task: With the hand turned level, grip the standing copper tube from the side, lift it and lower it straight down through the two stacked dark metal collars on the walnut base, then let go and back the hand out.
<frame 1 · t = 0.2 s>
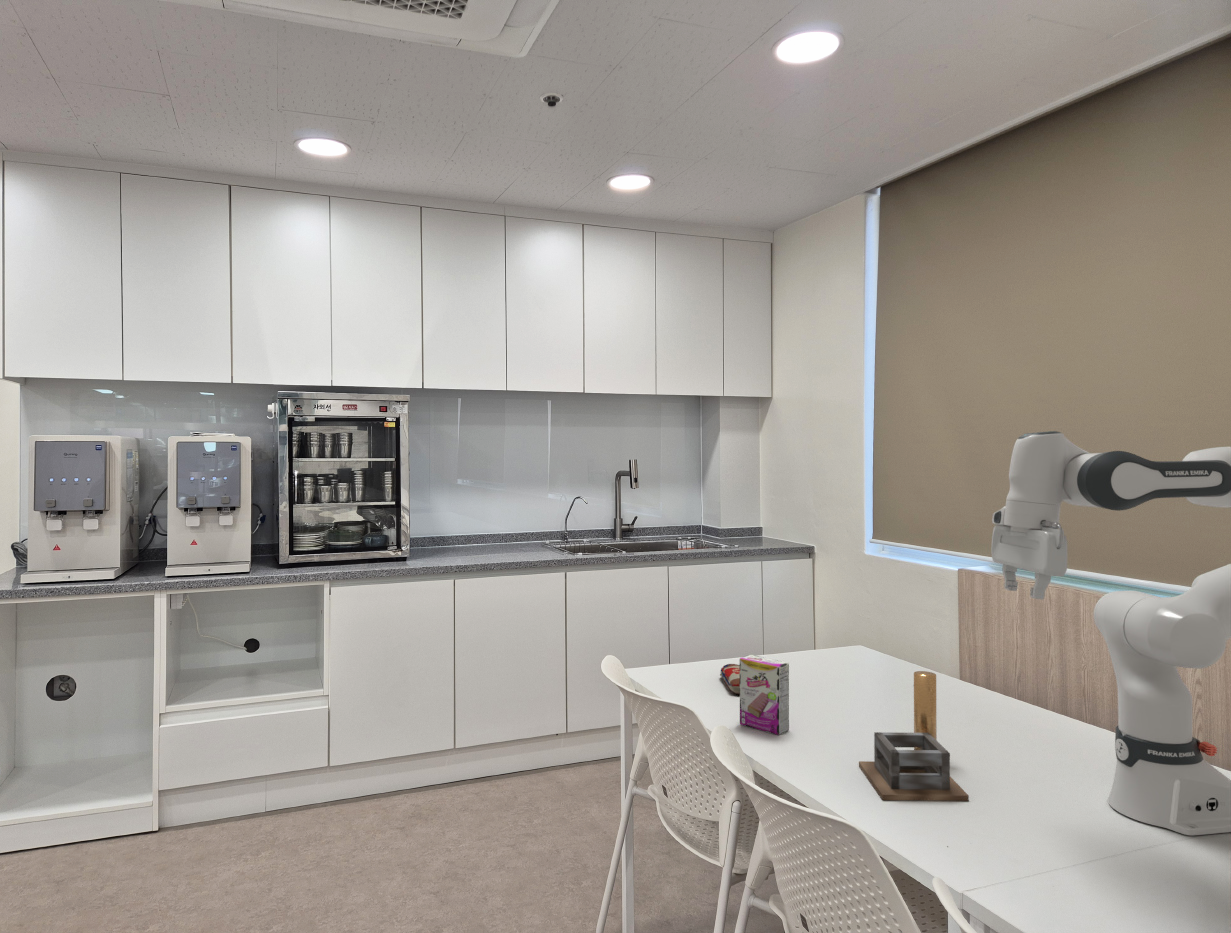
hand: (1023, 594, 140), 39 cm above the table, tool pointing down, fingers open, 8 cm apart
candy bar box: (764, 729, 184), on the table
collar stand: (910, 782, 153), on the table
copper tube: (925, 757, 165), on the table
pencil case: (738, 687, 218), on the table
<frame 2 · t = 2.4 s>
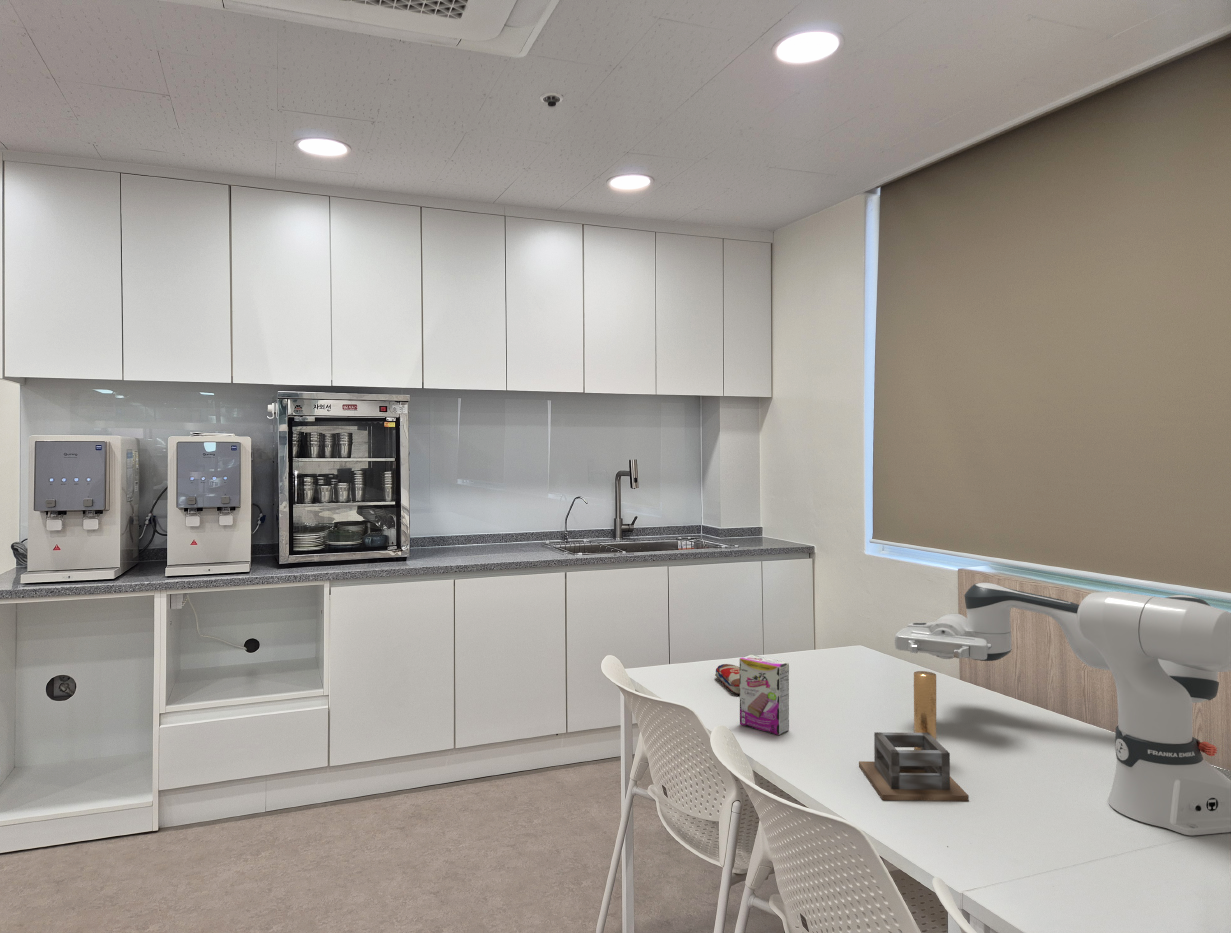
hand: (935, 652, 176), 20 cm above the table, tool horizontal, fingers open, 8 cm apart
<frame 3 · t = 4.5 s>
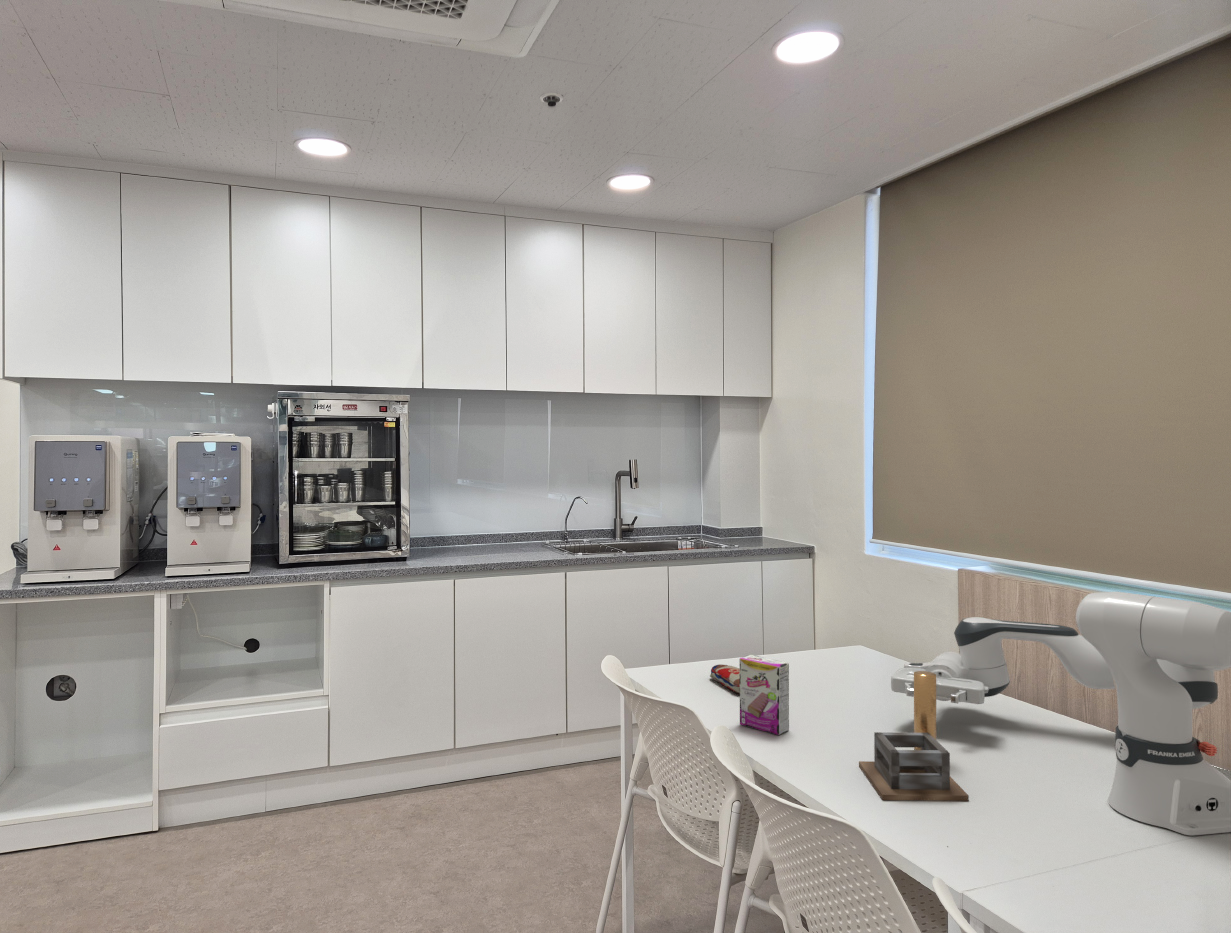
hand: (931, 696, 174), 11 cm above the table, tool horizontal, fingers open, 8 cm apart
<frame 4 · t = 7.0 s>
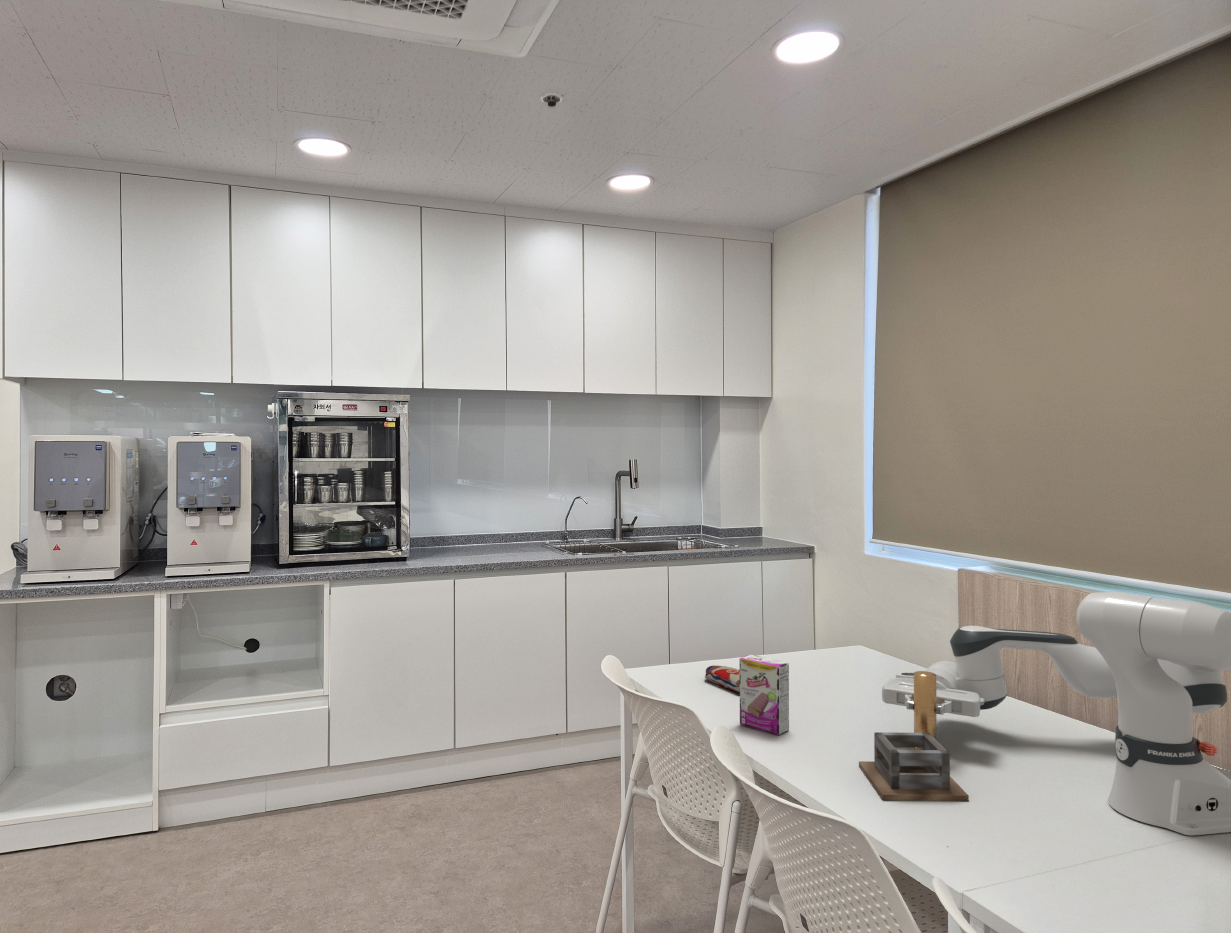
hand: (924, 708, 165), 11 cm above the table, tool horizontal, fingers closed on copper tube, 4 cm apart
copper tube: (925, 757, 165), on the table, touching gripper
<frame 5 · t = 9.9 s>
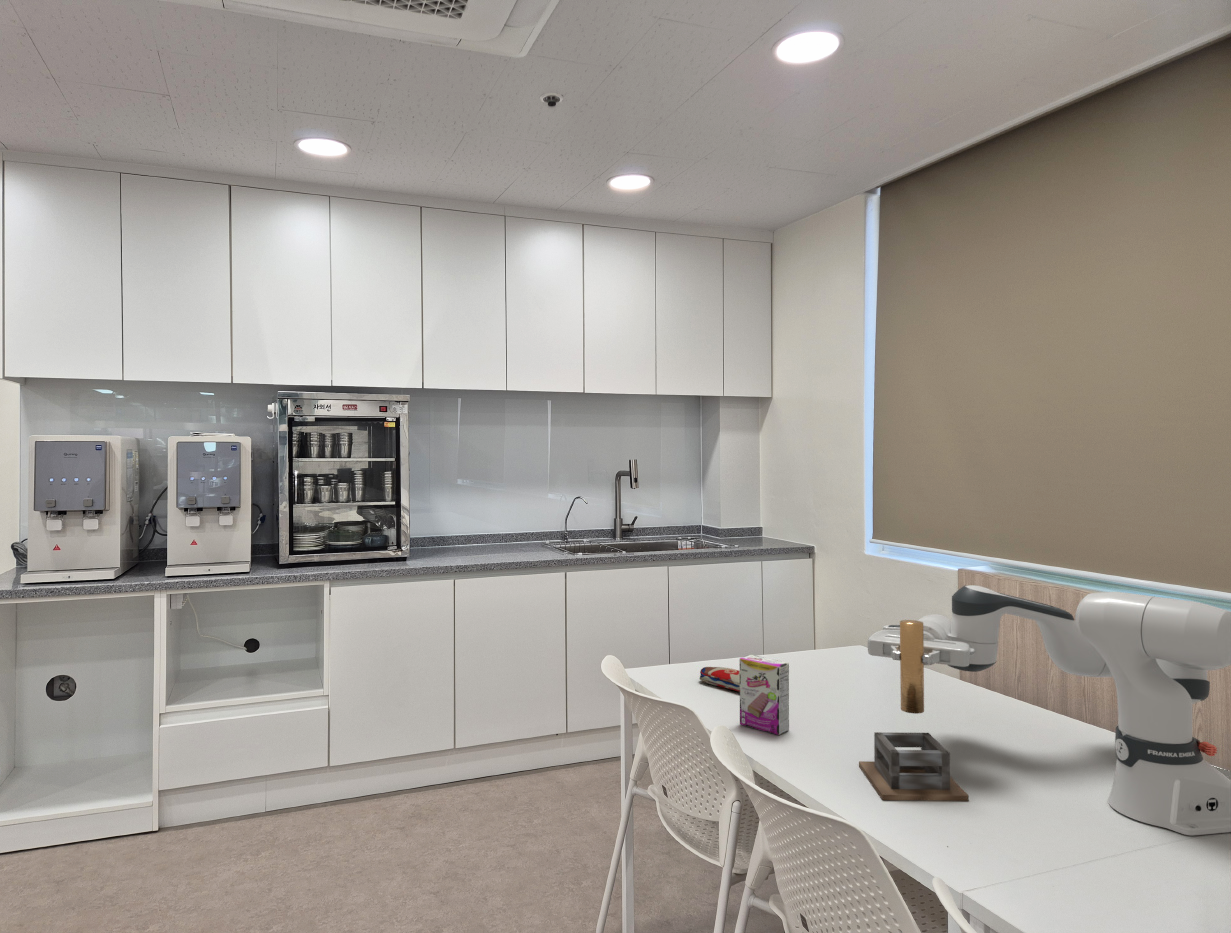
hand: (910, 658, 157), 24 cm above the table, tool horizontal, fingers closed on copper tube, 4 cm apart
copper tube: (912, 709, 158), point 13 cm above the table, touching gripper
when the fingers open (13 cm above the table, at t = 12.9 s): copper tube drops 2 cm, resting on collar stand.
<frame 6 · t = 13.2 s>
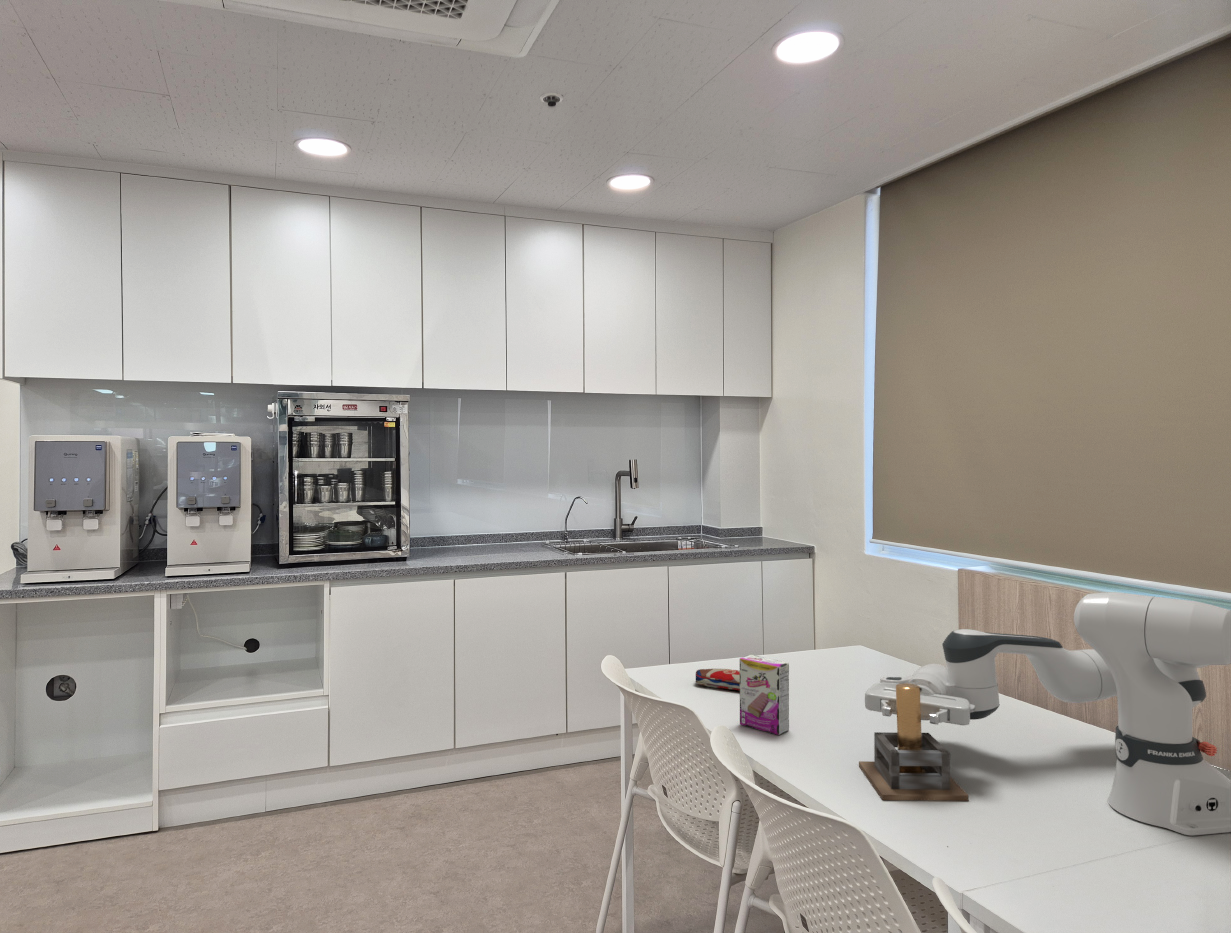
hand: (909, 716, 152), 13 cm above the table, tool horizontal, fingers open, 8 cm apart
copper tube: (910, 777, 153), point 1 cm above the table, touching collar stand
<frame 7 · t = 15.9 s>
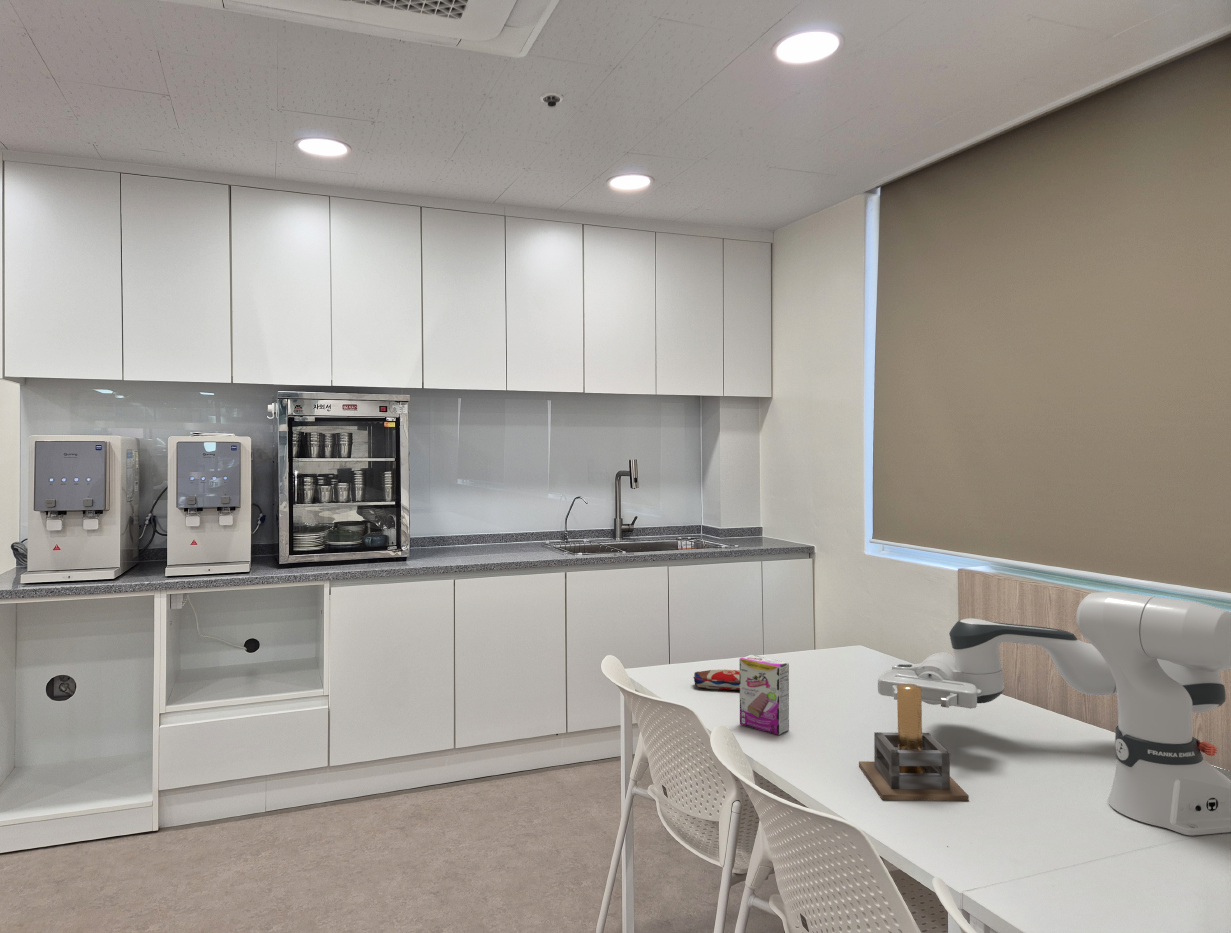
hand: (920, 699, 162), 13 cm above the table, tool horizontal, fingers open, 8 cm apart
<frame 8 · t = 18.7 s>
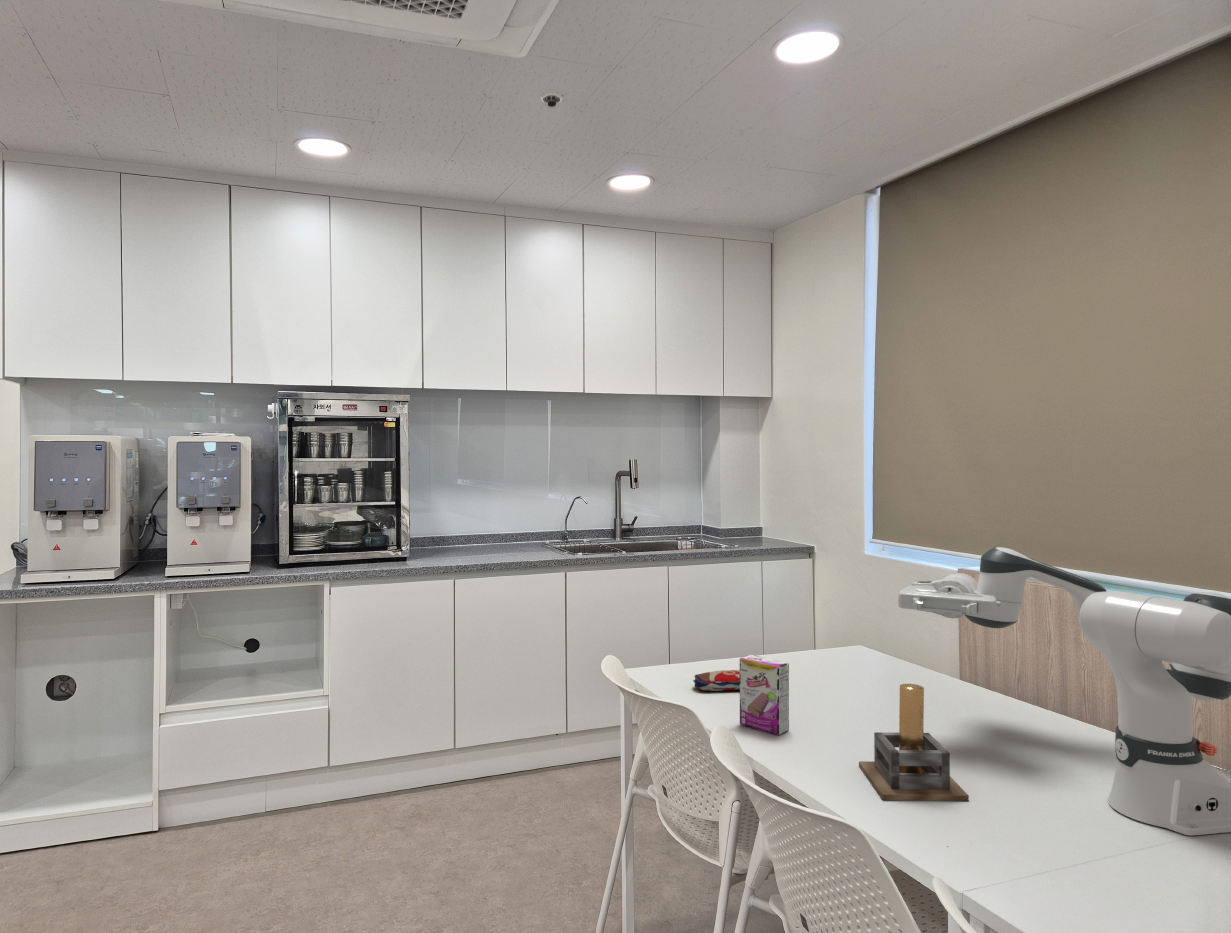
hand: (941, 608, 166), 32 cm above the table, tool horizontal, fingers open, 8 cm apart
at the end: copper tube 0.0 cm off-centre on the collar stand, point 1.0 cm above the collar stand's base; copper tube tilted 1°; the gripper is holding nothing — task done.
